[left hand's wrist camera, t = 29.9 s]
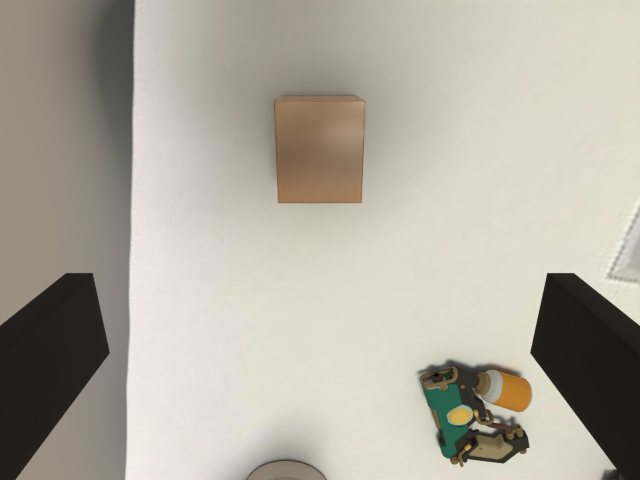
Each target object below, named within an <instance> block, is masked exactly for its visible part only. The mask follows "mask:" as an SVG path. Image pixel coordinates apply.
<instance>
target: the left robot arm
mask: <svg viewBox="0 0 640 480" xmlns="http://www.w3.org/2000/svg"><path fill="white" fill-rule="evenodd" d="M109 353H110V352H109V347H108V343H107V338H106V333H105V329H104V324H103V320H102V315H101V310H100V305H99V301H98V296H97V291H96V287H95V282H94V277H93V274H92V273H66V274H65V275H63V276H62V277H61V278H59V279H58V280H57V281H56V282H54V283H53V284H52V285H51V286H49V287H48V288H47V289H46V290H44V291H43V292H42V293H41V294H39V295H38V296H37V297H36V298H34V299H33V300H32V301H31V302H29V303H28V304H27V305H26V306H24V307H23V308H22V309H21V310H19V311H18V312H17V313H16V314H14V315H13V316H12V317H11V318H9V319H8V320H7V321H6V322H4V323H3V324H2V325H1V326H0V480H15V479H16V478H17V477H18V475H19V474H20V473H21V471H22V470H23V469H24V467H25V466H26V465H27V463H28V462H29V461H30V459H31V458H32V457H33V455H34V454H35V453H36V451H37V450H38V449H39V447H40V446H41V444H42V443H43V442H44V441H45V439H46V438H47V436H48V435H49V434H50V432H51V431H52V430H53V428H54V427H55V426H56V424H57V423H58V422H59V420H60V419H61V418H62V416H63V415H64V414H65V412H66V411H67V410H68V408H69V407H70V406H71V404H72V403H73V402H74V400H75V399H76V397H77V396H78V395H79V393H80V392H81V391H82V389H83V388H84V387H85V385H86V384H87V383H88V381H89V380H90V379H91V377H92V376H93V375H94V373H95V372H96V371H97V369H98V368H99V367H100V365H101V364H102V363H103V361H104V360H105V359H106V357H107V356H108V355H109ZM530 353H531V355H532V356H533V357H534V359H535V360H536V361H537V363H538V364H539V365H540V367H541V368H542V369H543V371H544V372H545V373H546V375H547V376H548V377H549V379H550V380H551V381H552V383H553V384H554V385H555V387H556V388H557V389H558V391H559V392H560V394H561V395H562V396H563V398H564V399H565V400H566V402H567V403H568V404H569V406H570V407H571V408H572V410H573V411H574V412H575V414H576V415H577V416H578V418H579V419H580V420H581V422H582V423H583V424H584V426H585V427H586V428H587V430H588V431H589V432H590V434H591V435H592V436H593V438H594V439H595V441H596V442H597V443H598V445H599V446H600V447H601V449H602V450H603V451H604V453H605V454H606V455H607V457H608V458H609V459H610V461H611V462H612V463H613V465H614V466H615V467H616V469H617V470H618V471H619V473H620V474H621V475H622V477H623V478H624V479H625V480H640V326H639V325H638V324H637V323H636V322H634V321H633V320H632V319H631V318H629V317H628V316H627V315H626V314H624V313H623V312H622V311H621V310H619V309H618V308H617V307H616V306H614V305H613V304H612V303H611V302H609V301H608V300H607V299H606V298H604V297H603V296H602V295H601V294H599V293H598V292H597V291H596V290H594V289H593V288H592V287H591V286H589V285H588V284H587V283H586V282H584V281H583V280H582V279H581V278H579V277H578V276H577V275H576V274H574V273H547V277H546V282H545V287H544V291H543V296H542V301H541V305H540V310H539V315H538V319H537V324H536V329H535V333H534V338H533V343H532V347H531V352H530Z"/></svg>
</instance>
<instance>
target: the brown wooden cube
mask: <svg viewBox="0 0 640 480" xmlns="http://www.w3.org/2000/svg"><path fill="white" fill-rule="evenodd" d="M274 110H275V135H276V161H277V187H278V203H362V176H363V148H364V119H365V101H364V100H363V99H361V98H360V97H358V96H282V97H280V98H279V99H277V100H275V101H274Z"/></svg>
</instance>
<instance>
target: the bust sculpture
mask: <svg viewBox="0 0 640 480" xmlns="http://www.w3.org/2000/svg"><path fill="white" fill-rule="evenodd" d="M247 480H326V479H325V478H324V477H323V475H322V474H321V473H319V472H318V471H317V470H316V469H314V468H312V467H310V466H308V465H306V464H303V463H299V462H293V461H278V462H273V463H269V464H266V465H264V466H262V467H260V468H258V469H257V470H255V471H254V472H253V473H252V474H251V475H250V476H249V477H248V479H247Z"/></svg>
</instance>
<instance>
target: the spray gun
mask: <svg viewBox="0 0 640 480" xmlns="http://www.w3.org/2000/svg"><path fill="white" fill-rule="evenodd" d="M452 370H453V371H452ZM448 373H451V375H452V377H451V376H449V375H447V374H448ZM443 374H446V375H445V377H443ZM429 377H432V379H431V380H427V381H425V382H423V381H424V379H425V378H429ZM421 382H422V385H423V389H424V393H425V396H426V400H427V403H428V406H429V407H430V408H431V409H432V412H433V416H434V419H435V422H436V426H437V428H438V429H439V431H440V434H441V437H440V438H439V445H440V448H441V452H442V454H443V456H444V457H446V458H450V461H451V463H452V464H457V463H458V462H459V463H460V466H461V467H463V462H465V463H466V462H467V459H472V460H479V461H487V462H496V463H505V462H506V461H508V460H509V459H510V458H512V457H513V456H514V455H515V454H517V453H518V452H520V453H521V454H525V453H526V448H529V442H528V437H527V435H526V433H525V431H524V430H523V429H522V427H521V426H520V425H516V426H515V429H511V428H510V427H509V426H508V425H505V424H498V423H493V421H494V419H493V415H492V413H491V411H490V410H488V409H485V408H484V404H483V401H482V400H481V399H479V398H478V397H476V396H475V395H474V394H473V390H472V389H473V388H474V389H475V391H476V393H478V394H480V395H481V397H482V398H483V399H484V400H485V401H487V402H489V403H491V404H494V405H497V406H500V407H503V408H506V409H510V410H513V411H516V412H522V411H524V410H526V409H527V408H528V406H529V405H530V403H531V400H532V389H531V386H530V383H529V382H528V381H527V380H526V379H524V378H520V377H517V376H514V375H510V374H507V373H503V372H500V371H497V370H488V371H486V372H479V373H478V374H477V375H475V374H473V373H470V372H467V371H465V370H462V369H459V368H456V367H454V366H451V367H450V368H449V370H445V371H441V372H435V373H431V374H427V375H423V376H422V377H421ZM486 413H488V415H489V417H490V420H486V418H485V417H486ZM474 421H477V422H478V423H479V424H481V425H486V426H488V427H491V428H496V429H504V430H505V433H504V434H499V435H497V437H495V438H492V437H487V436H482V435H477V434H478V432H479V430H478V429H476V430H469V429H468V426H469V425H470V424H472V423H473V422H474ZM458 459H459V460H458ZM462 460H463V462H462Z"/></svg>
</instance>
